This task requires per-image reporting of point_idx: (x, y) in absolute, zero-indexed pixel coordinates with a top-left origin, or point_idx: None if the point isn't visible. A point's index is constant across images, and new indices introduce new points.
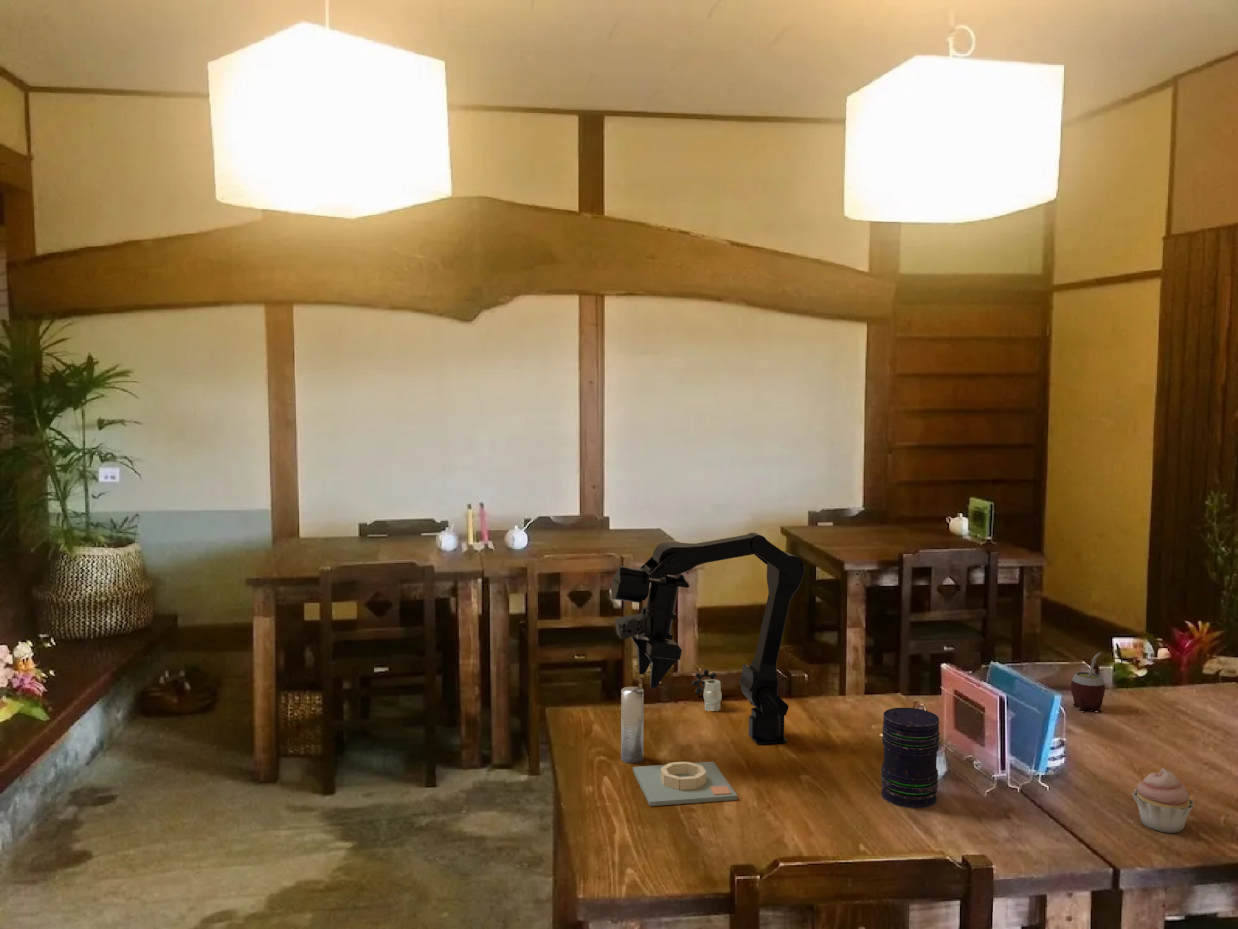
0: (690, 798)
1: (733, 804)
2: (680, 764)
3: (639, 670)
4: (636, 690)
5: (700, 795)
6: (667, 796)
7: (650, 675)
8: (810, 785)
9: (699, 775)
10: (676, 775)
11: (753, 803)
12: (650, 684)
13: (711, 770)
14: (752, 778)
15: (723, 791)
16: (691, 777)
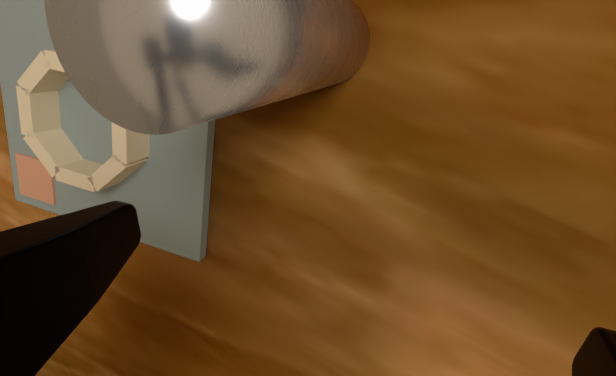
0: (1, 86)
1: (8, 177)
2: (112, 138)
3: (613, 356)
4: (115, 57)
5: (16, 119)
6: (13, 30)
7: (10, 248)
8: (77, 361)
9: (37, 151)
10: None
11: (12, 217)
12: (100, 209)
13: (145, 224)
14: (121, 291)
15: (26, 180)
16: (24, 122)
